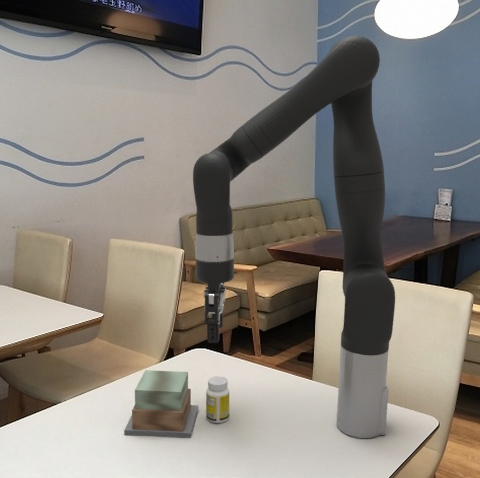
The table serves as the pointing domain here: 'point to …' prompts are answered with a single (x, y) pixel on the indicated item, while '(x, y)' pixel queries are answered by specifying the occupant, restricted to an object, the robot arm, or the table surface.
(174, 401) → the brick tower
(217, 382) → the supplement bottle
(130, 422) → the baseplate
